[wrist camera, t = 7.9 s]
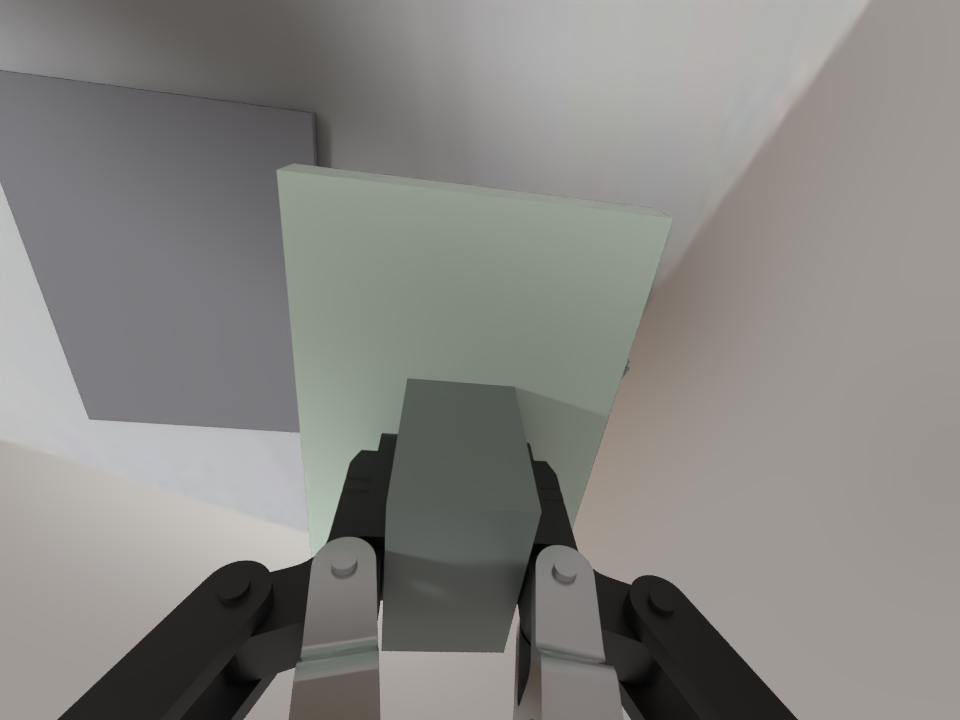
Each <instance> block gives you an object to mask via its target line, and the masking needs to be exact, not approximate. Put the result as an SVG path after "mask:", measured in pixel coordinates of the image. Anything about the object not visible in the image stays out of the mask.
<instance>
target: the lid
mask: <svg viewBox="0 0 960 720" xmlns="http://www.w3.org/2000/svg"><path fill="white" fill-rule="evenodd" d="M277 181H278V192H279V203H280V214H281V225H282V236H283V247H284V258H285V270H286V281H287V292H288V303H289V314H290V325H291V336H292V347H293V359H294V370H295V381H296V392H297V403H298V414H299V425H300V436H301V448H302V459H303V470H304V481H305V492H306V503H307V514H308V525H309V537H310V547H311V558H312V557H314V556H315V555H316V553H317V552H318V551H319V550H320V549H321V548H322V547H323V546H324V545H325V544H326V542H327V540H328V537H329V534H330V530H331V527H332V523H333V520H334V516H335V513H336V509H337V506H338V502H339V499H340V496H341V492H342V489H343V485H344V482H345V480H346V475H347V471H348V468H349V464H350V462H351V461H352V459H353V458H354V457H355V456H356V455H357V454H358V453H359V452H360V451H361V450H372V451H378V447H379V442H380V438H381V434H382V433H390V434H398V437H397V443H396V449H395V455H394V461H393V467H392V473H391V479H390V485H389V491H388V497H387V503H386V527H385V559H384V591H383V624H382V651H424V652H425V651H426V652H501V653H503V652H504V649H505V645H506V641H507V638H508V634H509V630H510V627H511V623H512V619H513V616H514V612H515V608H516V605H517V601H518V597H519V594H520V590H521V586H522V583H523V579H524V575H525V572H526V568H527V564H528V561H529V557H530V553H531V550H532V546H533V542H534V538H535V535H536V531H537V527H538V524H539V520H540V516H541V513H542V512H541V507H540V502H539V498H538V493H537V488H536V484H535V479H534V475H533V470H532V465H531V461H530V456H529V452H528V447H527V443H530V446H531V450H532V454H533V459H534V460H535V461H546V462H547V463H548V464H549V465H550V467H551V468H552V469H553V470H554V472H555V473H556V474H557V478H558V481H559V485H560V491H561V492H562V496H563V499H564V503H565V507H566V510H567V514H568V518H569V521H570V525H571V528H573V525H574V522H575V519H576V516H577V513H578V510H579V507H580V504H581V501H582V498H583V495H584V491H585V489H586V485H587V482H588V479H589V476H590V473H591V470H592V467H593V464H594V461H595V458H596V455H597V452H598V448H599V445H600V443H601V439H602V436H603V434H604V430H605V427H606V424H607V421H608V418H609V415H610V412H611V409H612V406H613V403H614V400H615V397H616V394H617V391H618V388H619V385H620V382H621V379H622V376H623V372H624V369H625V366H626V363H627V360H628V357H629V354H630V351H631V348H632V345H633V342H634V339H635V336H636V333H637V330H638V327H639V324H640V321H641V317H642V314H643V311H644V308H645V305H646V302H647V299H648V296H649V293H650V290H651V287H652V284H653V281H654V278H655V275H656V272H657V269H658V266H659V262H660V259H661V256H662V253H663V250H664V247H665V244H666V241H667V238H668V235H669V232H670V229H671V226H672V223H673V220H674V218H672V217H670V216H668V215H666V214H664V213H662V212H661V211H659V210H657V209H655V208H649V207H641V206H633V205H625V204H617V203H609V202H601V201H592V200H584V199H576V198H568V197H560V196H552V195H544V194H536V193H528V192H520V191H512V190H504V189H496V188H488V187H480V186H472V185H464V184H455V183H447V182H439V181H431V180H423V179H415V178H407V177H399V176H391V175H383V174H375V173H367V172H359V171H351V170H343V169H335V168H326V167H318V166H310V165H302V164H291V165H288V166H286V167H283V168H280V169H278V170H277Z"/></svg>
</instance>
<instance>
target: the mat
mask: <svg viewBox="0 0 960 720" xmlns="http://www.w3.org/2000/svg"><path fill="white" fill-rule="evenodd" d="M291 164H302V165H310V166H318V163H317V142H316V121H315V113H311V112H304V111H296V110H289V109H282V108H274V107H267V106H259V105H252V104H245V103H237V102H230V101H223V100H215V99H208V98H201V97H193V96H186V95H179V94H171V93H164V92H157V91H149V90H142V89H135V88H127V87H120V86H113V85H105V84H98V83H91V82H83V81H76V80H69V79H61V78H54V77H47V76H39V75H32V74H25V73H17V72H10V71H3V70H0V182H1V185H2V187H3V190H4V193H5V195H6V198H7V201H8V203H9V206H10V209H11V211H12V214H13V217H14V219H15V222H16V225H17V227H18V230H19V233H20V236H21V238H22V241H23V244H24V246H25V249H26V252H27V254H28V257H29V260H30V262H31V265H32V268H33V270H34V273H35V276H36V278H37V281H38V284H39V286H40V289H41V292H42V294H43V297H44V300H45V302H46V305H47V308H48V311H49V313H50V316H51V319H52V321H53V324H54V327H55V329H56V332H57V335H58V337H59V340H60V343H61V345H62V348H63V351H64V353H65V356H66V359H67V361H68V364H69V367H70V369H71V372H72V375H73V377H74V380H75V383H76V385H77V388H78V391H79V394H80V396H81V399H82V402H83V404H84V407H85V410H86V412H87V415H88V418H89V419H92V420H108V421H124V422H140V423H156V424H172V425H188V426H203V427H219V428H235V429H251V430H267V431H283V432H299V433H300V425H299V414H298V403H297V392H296V381H295V370H294V359H293V347H292V336H291V325H290V314H289V303H288V292H287V281H286V270H285V258H284V247H283V236H282V225H281V214H280V203H279V192H278V181H277V170H278V169H280V168H283V167H286V166H288V165H291Z"/></svg>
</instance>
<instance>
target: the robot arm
mask: <svg viewBox="0 0 960 720" xmlns="http://www.w3.org/2000/svg"><path fill="white" fill-rule="evenodd" d="M397 437H398V434H390V433H382V434H381V438H380V442H379V447H378V451H372V450H361V451H360V452H359V453H358V454H357V455H356V456H355V457H354V458H353V459H352V461H351V462H350V464H349V468H348V471H347V475H346V480H345V482H344V485H343V489H342V492H341V496H340V499H339V502H338V506H337V509H336V513H335V516H334V520H333V523H332V527H331V530H330V534H329V537H328V540H327V542H326V544H325V545H324V546H323V547H322V548H321V549H320V550H319V551H318V552H317V553H316V555H315V556H314V557H312V558H311V559H309V560H308V561H306V562H304V563H302V564H299V565H296V566H293V567H289V568H286V569H281V570H277V571H274V572H269V570H268V569H267V568H266V567H265V566H264V565H262V564H261V563H258V562H255V561H237V562H234V563H230V564H228V565H225V566H223V567H222V568H220V569H218V570H217V571H215V572H214V573H212V574H211V575H210V576H209V577H208V578H207V579H206V580H205V581H204V582H202V583H201V584H200V586H198V587H197V588H196V589H195V590H194V591H193V592H192V593H191V594H190V595H189V596H188V597H187V598H186V599H184V600H183V601H182V602H181V603H180V604H179V605H178V606H177V607H176V608H175V609H174V610H173V611H172V612H171V613H170V614H169V615H168V616H167V617H165V618H164V619H163V620H162V621H161V622H160V623H159V624H158V625H157V626H156V627H155V628H154V629H153V630H152V631H151V632H150V633H149V634H147V635H146V637H144V638H143V639H142V640H141V641H140V642H139V643H138V644H137V645H136V646H135V647H134V648H133V649H132V650H131V651H130V652H128V653H127V654H126V656H124V657H123V658H122V659H121V660H120V661H119V662H118V663H117V664H116V665H115V666H114V667H113V668H111V669H110V671H108V672H107V673H106V674H105V675H104V676H103V677H102V678H101V679H100V680H99V681H98V682H97V683H96V684H95V685H93V687H91V688H90V689H89V690H88V691H87V692H86V693H85V694H84V695H83V696H82V697H81V698H80V699H79V700H78V701H77V702H76V703H74V704H73V705H72V706H71V707H70V708H69V709H68V710H67V711H66V712H65V713H64V714H63V715H62V716H61V717H60V718H59V719H58V720H243V719H244V718H245V717H246V715H247V714H248V713H249V711H250V710H251V708H252V707H253V706H254V705H255V703H256V702H257V701H258V699H259V698H260V696H261V695H262V694H263V692H264V691H265V689H266V688H267V687H268V686H269V684H270V683H271V681H272V680H273V679H274V678H275V676H276V675H277V673H280V672H282V671H286V670H289V669H292V668H295V667H296V668H295V674H294V681H293V689H292V697H291V705H290V713H289V720H380V682H379V650H378V628H377V620H378V614H379V607H380V601H381V600H383V591H384V559H385V527H386V503H387V497H388V491H389V485H390V479H391V473H392V467H393V461H394V455H395V449H396V443H397ZM527 447H528V452H529V456H530V461H531V465H532V470H533V475H534V479H535V484H536V488H537V493H538V498H539V502H540V507H541V512H542V513H541V516H540V520H539V524H538V527H537V531H536V535H535V538H534V542H533V546H532V550H531V553H530V557H529V561H528V564H527V568H526V572H525V575H524V579H523V583H522V586H521V590H520V594H519V597H518V601H517V604H518V608H519V616H520V620H519V623H518V627H517V637H516V661H515V687H514V711H513V720H624V719H623V713H622V706H623V708H624V709H625V711H626V712H627V714H628V715H629V717H630V718H631V720H798V719H797V718H796V717H795V716H794V715H793V714H792V713H791V712H790V710H789V709H788V708H787V707H786V706H785V705H784V704H783V703H782V702H781V701H780V700H779V698H778V697H777V696H776V695H775V694H774V693H773V692H772V691H771V690H770V688H768V686H767V685H766V684H765V683H764V682H763V681H762V680H761V679H760V677H759V676H758V675H757V674H756V673H755V672H754V671H753V670H752V669H751V668H750V666H749V665H748V664H747V663H746V662H745V661H744V660H743V659H742V658H741V657H740V656H739V655H738V653H737V652H736V651H735V650H734V649H733V648H732V647H731V646H730V645H729V643H728V642H727V641H726V640H725V639H724V638H723V637H722V636H721V635H720V634H719V632H718V631H717V630H716V629H715V628H714V627H713V626H712V625H711V624H710V623H709V622H708V620H707V619H706V618H705V617H704V616H703V615H702V614H701V613H700V612H699V610H698V609H697V608H696V607H695V606H694V605H693V604H692V603H691V602H690V601H689V600H688V598H687V597H686V596H685V595H684V594H683V593H682V592H681V591H680V590H679V589H678V588H677V587H676V586H675V585H673V584H672V583H670V582H669V581H667V580H665V579H663V578H660V577H657V576H652V575H645V576H641V577H638V578H637V579H635V580H634V581H633V583H632V585H630V584H627V583H624V582H621V581H618V580H615V579H612V578H609V577H607V576H604V575H602V574H600V573H598V572H596V571H595V570H594V569H592V567H591V565H590V563H589V561H588V560H587V559H586V558H585V557H584V556H583V555H582V554H580V553H579V552H578V549H577V546H576V543H575V539H574V536H573V532H572V528H571V525H570V521H569V518H568V514H567V510H566V507H565V503H564V499H563V496H562V492H561V491H560V485H559V481H558V478H557V474H556V473H555V472H554V470H553V469H552V468H551V467H550V465H549V464H548V463H547V462H546V461H535V460H534V459H533V454H532V450H531V446H530V443H527Z"/></svg>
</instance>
